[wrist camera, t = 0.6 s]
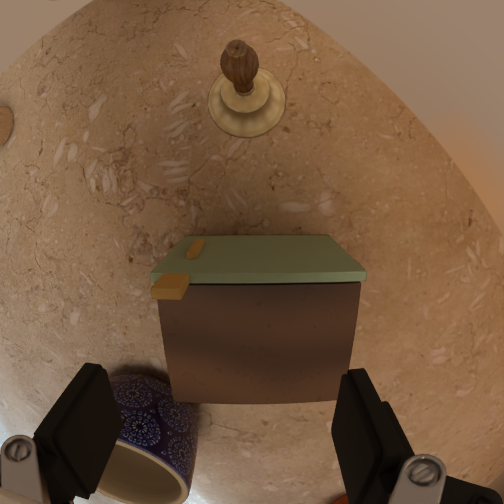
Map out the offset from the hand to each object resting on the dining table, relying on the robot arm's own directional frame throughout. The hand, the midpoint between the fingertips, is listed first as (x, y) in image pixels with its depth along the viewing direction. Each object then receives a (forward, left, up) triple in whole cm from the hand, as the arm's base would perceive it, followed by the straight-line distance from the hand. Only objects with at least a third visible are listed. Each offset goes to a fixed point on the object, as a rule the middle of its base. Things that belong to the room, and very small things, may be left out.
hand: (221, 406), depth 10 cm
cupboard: (+7, +1, -26) cm, 27 cm away
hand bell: (-15, 0, -26) cm, 30 cm away
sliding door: (0, +1, -26) cm, 26 cm away
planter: (+25, -15, -26) cm, 39 cm away
